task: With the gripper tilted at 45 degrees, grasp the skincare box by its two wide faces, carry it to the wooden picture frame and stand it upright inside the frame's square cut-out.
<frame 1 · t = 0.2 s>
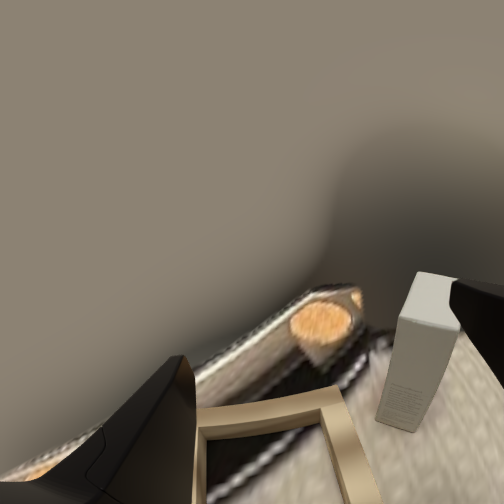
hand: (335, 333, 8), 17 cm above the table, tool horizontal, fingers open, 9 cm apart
wooden picture frame: (269, 482, 16), on the table
skincare box: (404, 404, 20), on the table
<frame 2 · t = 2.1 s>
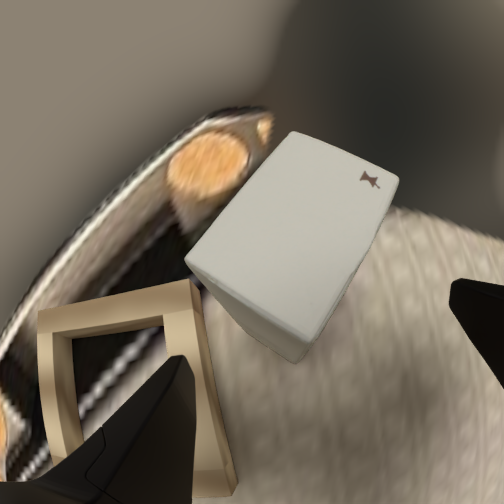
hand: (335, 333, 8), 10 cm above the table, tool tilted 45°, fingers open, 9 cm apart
wooden picture frame: (124, 397, 16), on the table
skincare box: (293, 313, 18), on the table
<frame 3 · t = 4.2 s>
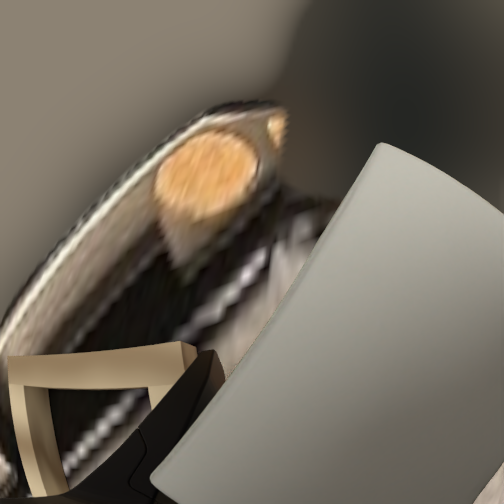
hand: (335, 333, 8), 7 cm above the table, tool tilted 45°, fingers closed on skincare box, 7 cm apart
wooden picture frame: (112, 463, 11), on the table
skincare box: (317, 377, 13), on the table, touching gripper
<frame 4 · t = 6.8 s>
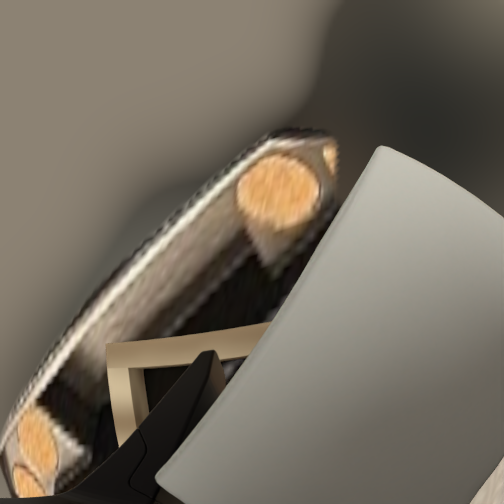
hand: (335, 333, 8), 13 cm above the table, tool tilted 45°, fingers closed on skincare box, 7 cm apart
wooden picture frame: (209, 424, 18), on the table
skincare box: (317, 376, 13), point 6 cm above the table, touching gripper
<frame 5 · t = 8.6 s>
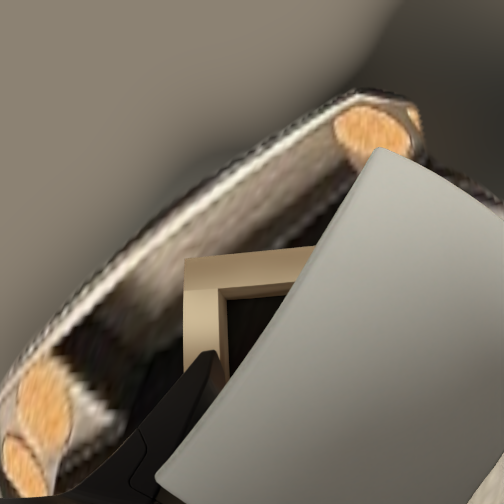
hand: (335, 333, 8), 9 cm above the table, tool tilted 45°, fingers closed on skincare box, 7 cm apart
wooden picture frame: (313, 372, 15), on the table
skincare box: (317, 376, 13), point 2 cm above the table, touching gripper
when the fingers open (8 cm above the table, at t = 9.8 s): skincare box drops 1 cm, resting in wooden picture frame.
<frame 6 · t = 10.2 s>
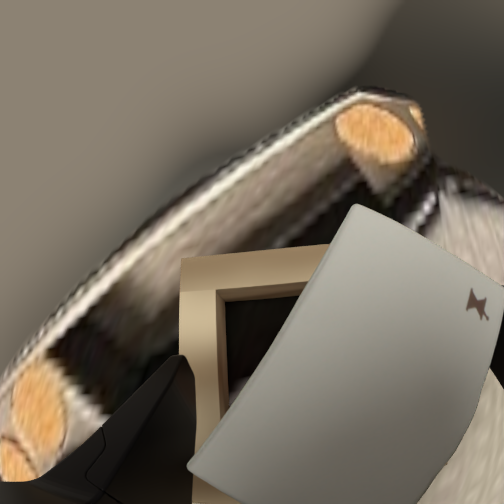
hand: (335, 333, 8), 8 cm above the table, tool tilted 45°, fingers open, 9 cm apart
wooden picture frame: (315, 377, 14), on the table
skincare box: (314, 381, 14), resting in wooden picture frame
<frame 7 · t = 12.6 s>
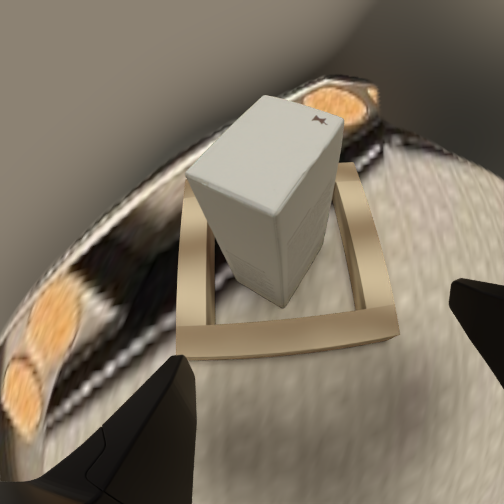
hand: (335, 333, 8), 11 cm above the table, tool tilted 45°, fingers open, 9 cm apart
wooden picture frame: (280, 260, 21), on the table
skincare box: (279, 264, 21), resting in wooden picture frame
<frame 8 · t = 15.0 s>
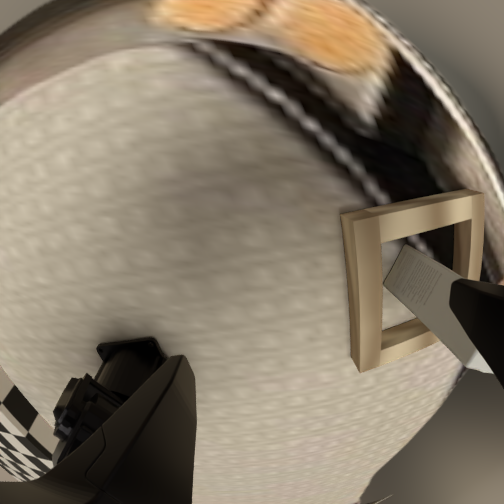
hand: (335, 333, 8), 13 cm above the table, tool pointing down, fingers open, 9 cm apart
checkerboard: (3, 422, 30), on the table
wooden picture frame: (415, 274, 22), on the table
skincare box: (412, 273, 22), resting in wooden picture frame
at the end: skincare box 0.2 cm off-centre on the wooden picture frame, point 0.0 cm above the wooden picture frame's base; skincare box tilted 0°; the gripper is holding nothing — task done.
